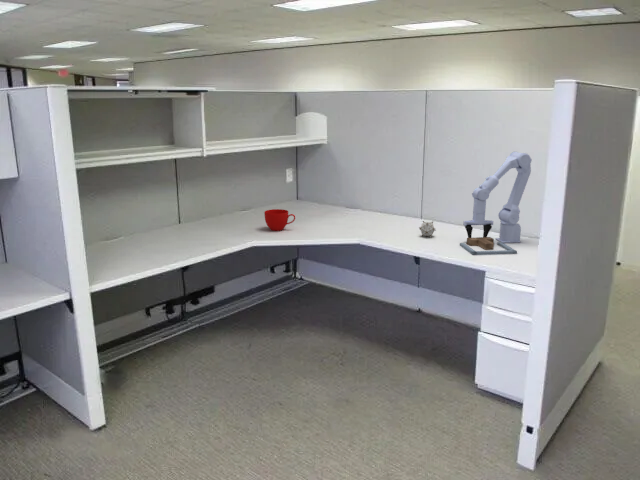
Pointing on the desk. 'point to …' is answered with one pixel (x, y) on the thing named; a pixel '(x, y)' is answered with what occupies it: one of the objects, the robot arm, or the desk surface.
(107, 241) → the desk surface
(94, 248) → the desk surface
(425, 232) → the grey spiky ball
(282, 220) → the ceramic cup
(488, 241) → the walnut T-block
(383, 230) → the desk surface
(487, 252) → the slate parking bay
